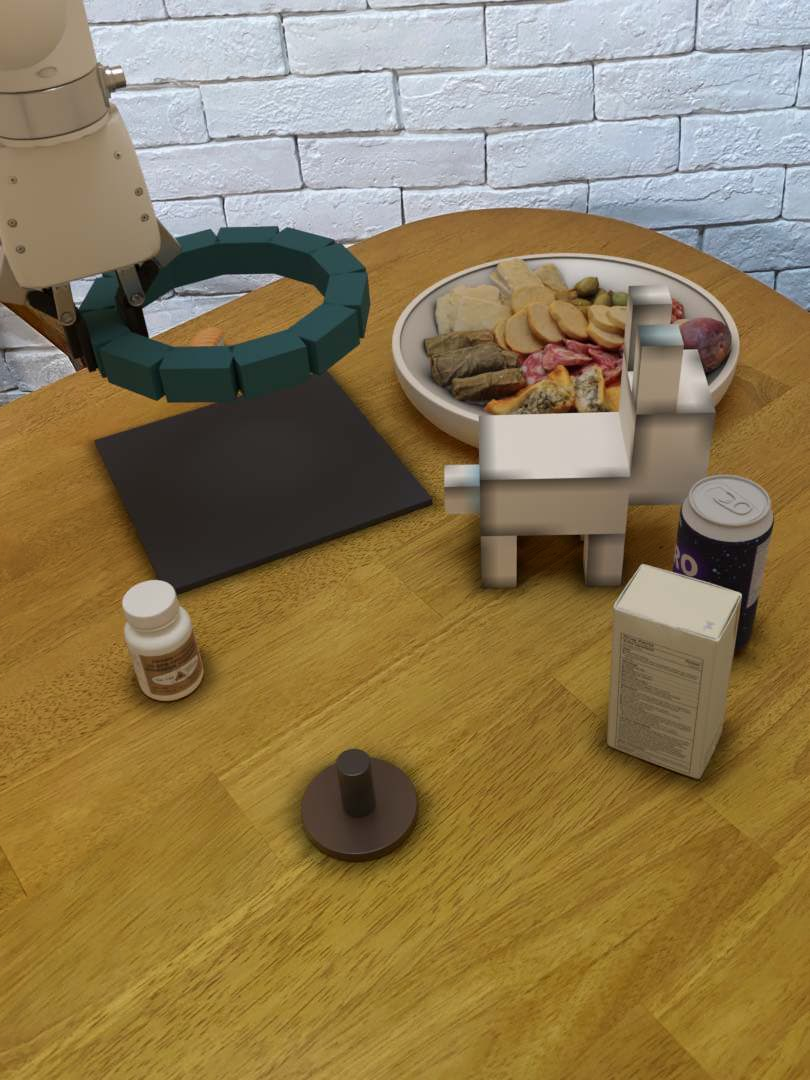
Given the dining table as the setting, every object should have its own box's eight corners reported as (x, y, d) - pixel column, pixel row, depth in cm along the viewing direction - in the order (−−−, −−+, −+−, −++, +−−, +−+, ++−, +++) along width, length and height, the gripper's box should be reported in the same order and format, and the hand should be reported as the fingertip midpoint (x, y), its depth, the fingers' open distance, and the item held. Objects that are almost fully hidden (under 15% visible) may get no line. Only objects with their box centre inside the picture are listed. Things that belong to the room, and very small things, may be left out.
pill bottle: (160, 714, 75) (135, 632, 70) (128, 677, 78) (102, 596, 73) (216, 680, 77) (196, 598, 72) (183, 645, 80) (161, 564, 75)
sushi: (232, 345, 110) (227, 318, 108) (209, 381, 106) (204, 353, 104) (207, 343, 111) (201, 316, 109) (183, 378, 106) (177, 351, 104)
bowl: (348, 453, 96) (338, 374, 90) (449, 284, 117) (446, 212, 112) (709, 508, 87) (722, 425, 82) (748, 315, 108) (760, 239, 103)
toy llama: (448, 522, 88) (438, 292, 75) (676, 517, 87) (706, 283, 74) (447, 588, 82) (436, 352, 69) (690, 584, 81) (725, 343, 68)
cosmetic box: (723, 733, 71) (750, 593, 63) (699, 783, 68) (724, 643, 60) (626, 697, 74) (641, 558, 66) (600, 744, 71) (611, 605, 63)
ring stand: (329, 880, 65) (319, 831, 62) (285, 791, 70) (274, 742, 66) (437, 831, 67) (434, 782, 64) (388, 748, 72) (382, 699, 68)
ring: (132, 436, 75) (123, 401, 73) (62, 301, 89) (53, 269, 87) (415, 348, 81) (412, 313, 79) (306, 235, 95) (302, 204, 93)
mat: (167, 598, 83) (165, 592, 83) (95, 445, 99) (94, 439, 98) (433, 504, 90) (432, 498, 89) (326, 374, 105) (326, 369, 105)
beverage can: (701, 593, 80) (722, 459, 73) (767, 636, 77) (796, 499, 69) (647, 632, 78) (663, 497, 70) (713, 678, 74) (737, 541, 67)
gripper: (153, 58, 75) (203, 304, 87) (-99, 111, 70) (-9, 363, 82) (187, 92, 70) (235, 348, 82) (-83, 152, 65) (10, 414, 77)
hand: (112, 354), depth 82 cm, fingers closed on ring, 2 cm apart
